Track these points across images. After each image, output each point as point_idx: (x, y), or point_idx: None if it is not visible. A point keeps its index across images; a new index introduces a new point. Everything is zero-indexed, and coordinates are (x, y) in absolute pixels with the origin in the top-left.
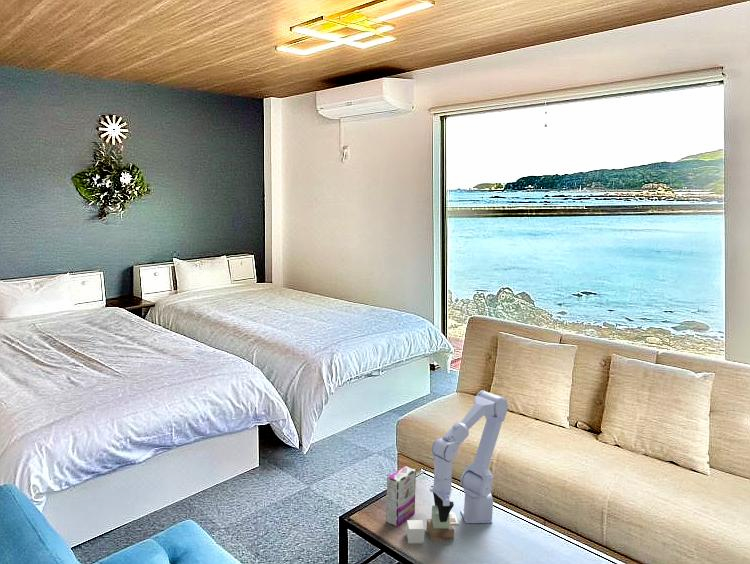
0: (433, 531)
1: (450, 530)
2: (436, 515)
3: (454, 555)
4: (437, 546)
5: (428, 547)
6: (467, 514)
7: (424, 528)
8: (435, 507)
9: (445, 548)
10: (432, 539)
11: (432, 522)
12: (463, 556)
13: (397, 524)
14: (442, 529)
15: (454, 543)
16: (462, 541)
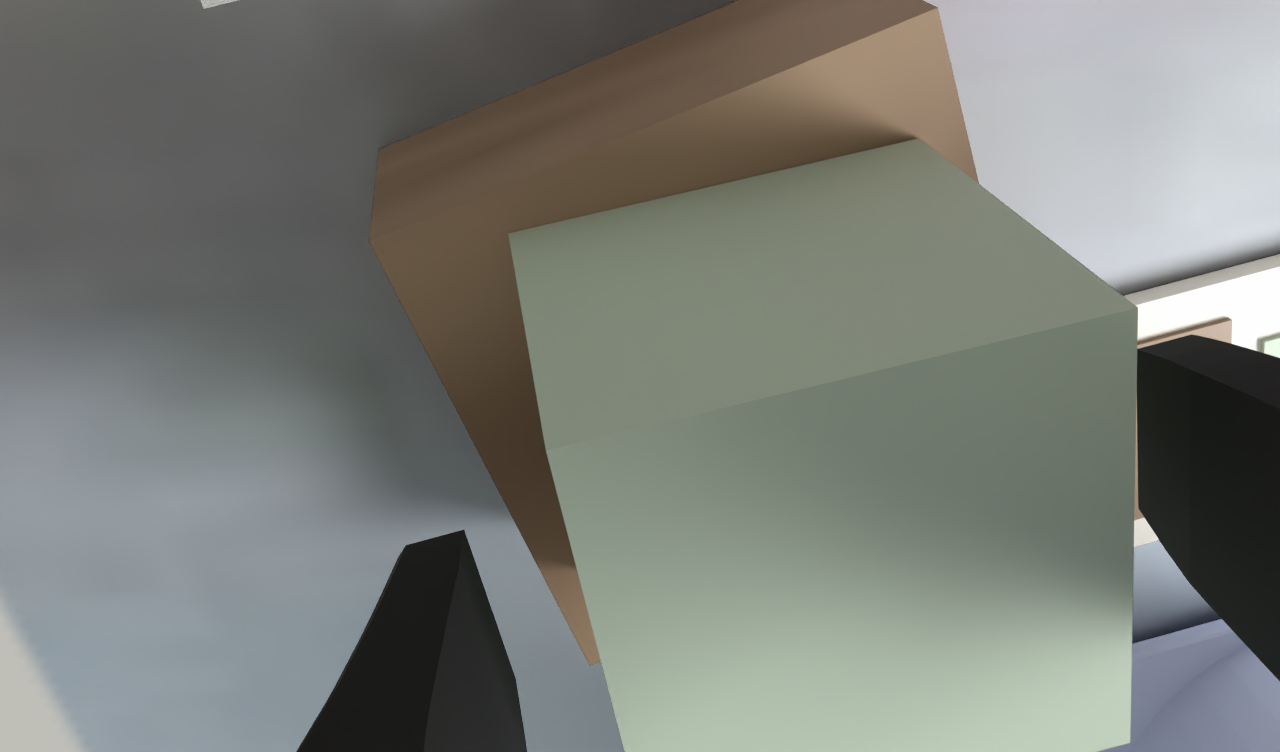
0: (372, 237)
1: (553, 589)
2: (556, 487)
3: (57, 581)
4: (238, 257)
5: (124, 64)
6: (1235, 741)
7: (225, 1)
8: (1012, 433)
9: (225, 413)
10: (413, 144)
11: (737, 191)
12: (94, 711)
13: None
14: (516, 443)
15: None
16: (546, 656)
